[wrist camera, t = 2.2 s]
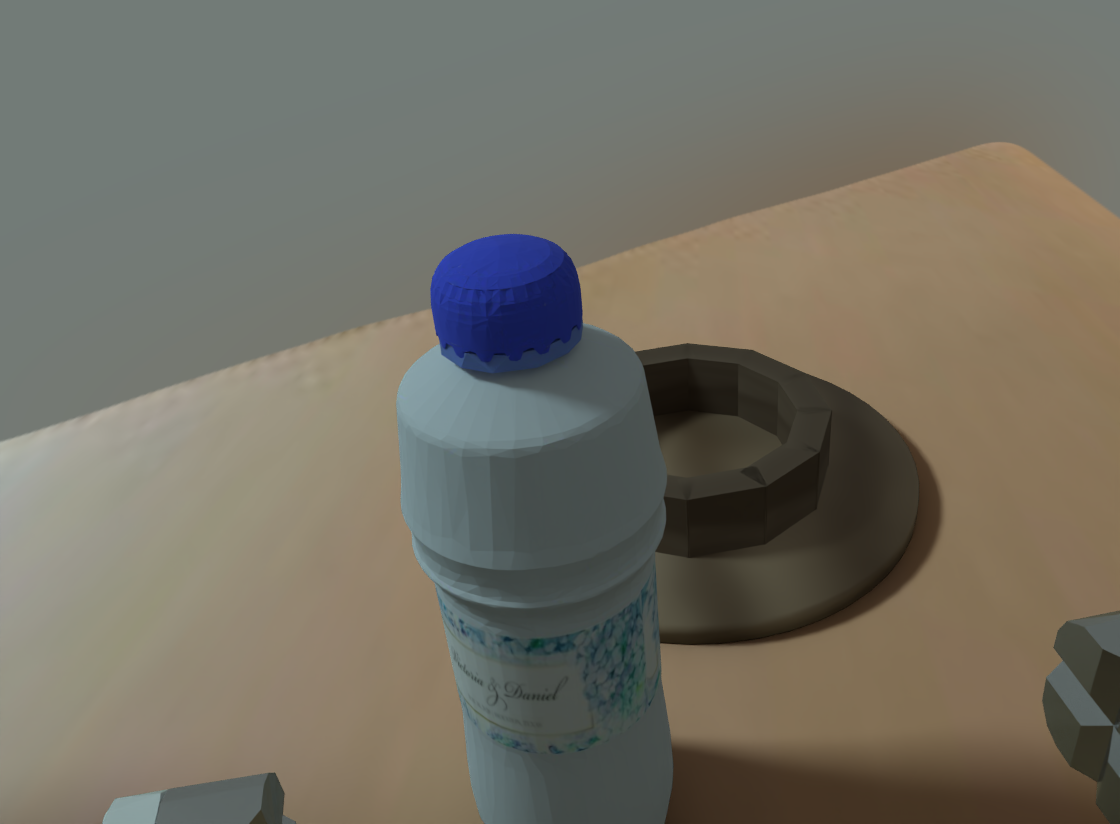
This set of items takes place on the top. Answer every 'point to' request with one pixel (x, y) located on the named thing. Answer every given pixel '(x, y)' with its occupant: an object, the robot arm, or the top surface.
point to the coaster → (804, 550)
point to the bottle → (540, 538)
